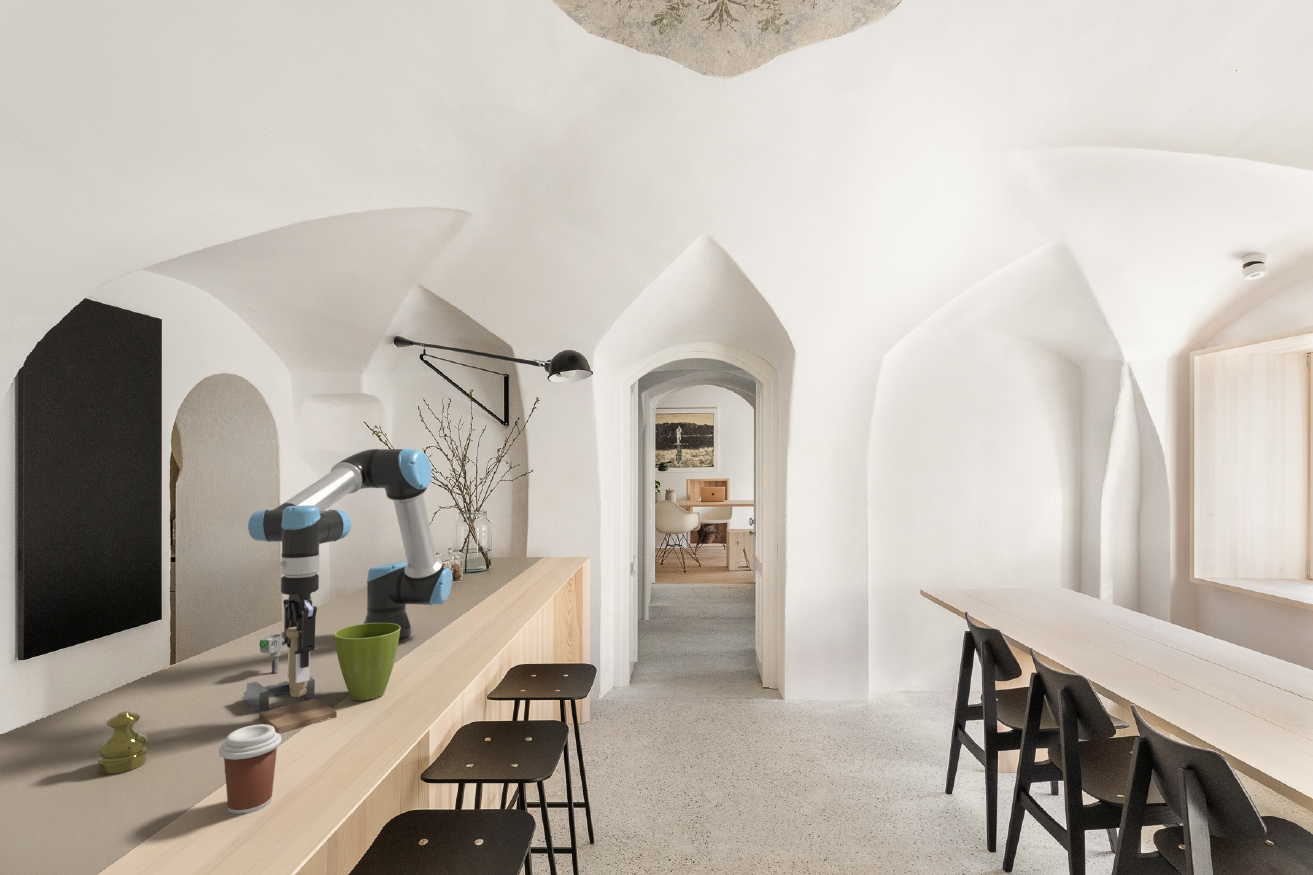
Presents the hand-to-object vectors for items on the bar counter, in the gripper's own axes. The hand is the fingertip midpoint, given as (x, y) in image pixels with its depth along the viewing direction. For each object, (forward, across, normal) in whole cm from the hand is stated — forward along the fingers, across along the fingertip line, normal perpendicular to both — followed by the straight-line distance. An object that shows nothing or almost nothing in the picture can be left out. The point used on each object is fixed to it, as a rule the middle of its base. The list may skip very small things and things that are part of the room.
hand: (298, 678), depth 149 cm
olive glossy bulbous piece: (+9, 0, -31) cm, 32 cm away
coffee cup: (+9, +33, -19) cm, 39 cm away
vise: (+9, -16, +1) cm, 18 cm away
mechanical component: (+9, -37, +7) cm, 39 cm away
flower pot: (+9, -2, +16) cm, 19 cm away
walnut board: (+9, 0, 0) cm, 9 cm away
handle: (+4, 0, 0) cm, 4 cm away
